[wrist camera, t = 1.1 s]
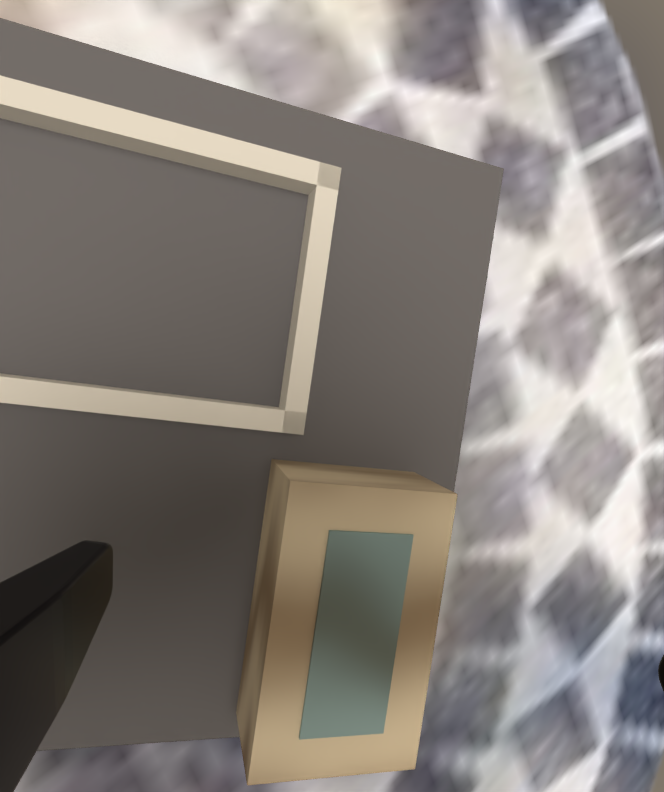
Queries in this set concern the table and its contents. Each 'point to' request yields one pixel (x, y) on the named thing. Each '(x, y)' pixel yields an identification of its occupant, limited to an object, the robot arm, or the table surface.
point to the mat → (208, 347)
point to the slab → (342, 621)
